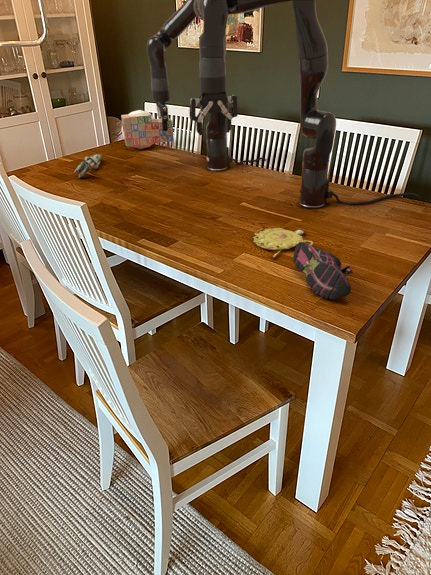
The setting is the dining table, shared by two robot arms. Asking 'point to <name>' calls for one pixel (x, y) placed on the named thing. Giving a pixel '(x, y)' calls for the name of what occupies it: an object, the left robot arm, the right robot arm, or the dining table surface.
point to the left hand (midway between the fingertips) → (163, 129)
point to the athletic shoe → (322, 271)
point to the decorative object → (279, 239)
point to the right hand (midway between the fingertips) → (214, 133)
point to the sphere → (139, 145)
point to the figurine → (88, 164)
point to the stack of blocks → (145, 130)
